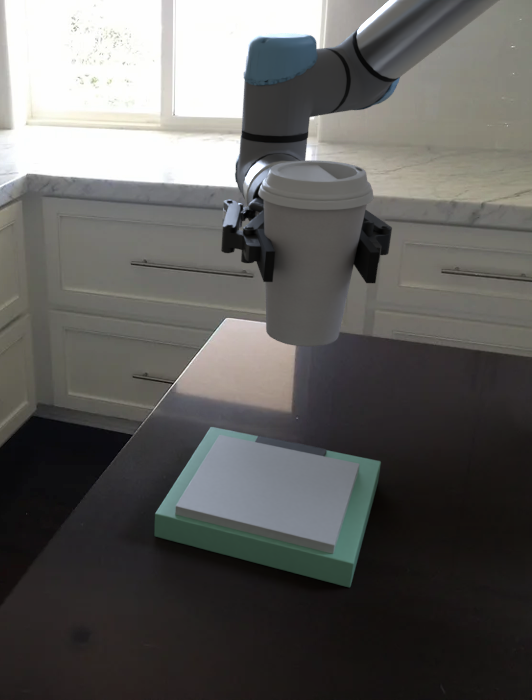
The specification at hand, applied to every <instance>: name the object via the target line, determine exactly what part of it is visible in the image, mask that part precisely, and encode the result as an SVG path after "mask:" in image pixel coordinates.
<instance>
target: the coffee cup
mask: <svg viewBox="0 0 532 700" xmlns="http://www.w3.org/2000/svg"><path fill="white" fill-rule="evenodd" d="M258 195H259V196H260V197H261V198H262V199H264V233H265V236H266V237H267V238H269V239H270V240H271V243H272V245H273V247H274V250H275V260H274V272H273V282H264V283H265V284H264V285H265V330H266V334H267V335H268V336H269V337H270V338H272V339H273V340H275V341H277V342H279V343H283V344H285V345H288V346H289V345H290V346H295V347H305V348H309V347H310V348H311V347H312V348H313V347H314V348H315V347H321V346H327V345H330V344H332V343H334V342H336V341H337V340H338V338H339V336H340V332H341V328H342V327H341V326H342V322H343V317H344V313H345V308H346V304H347V298H348V294H349V289H350V284H351V280H352V275H353V270H354V267H355V266H354V261H355V256H356V251H357V247H358V242H359V237H360V233H361V228H362V223H363V219H364V214H365V210H367V206H368V204H370V203H372V202H373V200H374V190H373V188H372V184H371V183H370V182H369V181H368V176H367V171H366V170H365V169H364V168H362V167H360V166H357V165H353V164H352V163H351V164H350V163H346V162H338V161H333V160H332V161H331V160H305V161H292V162H285V163H280V164H277V165H274V166H273V167H271V168H270V170H269V173H268V176H267V178H265V179H264V180H263V182H262V184H261V186H260V189H259V192H258Z"/></svg>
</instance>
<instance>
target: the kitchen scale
mask: <svg viewBox="0 0 532 700" xmlns="http://www.w3.org/2000/svg"><path fill="white" fill-rule="evenodd" d="M381 466H382V462H381V460H376V459H371V458H367V457H361V456H356V455H351V454H346V453H341V452H337V451H331V450H328V449H327V448H323V447H318V446H317V447H316V446H312V445H308V444H303V443H298V442H292V441H287V440H284V439H283V440H282V439H278V438H273V437H267V436H264V435H253V434H249V433H244V432H239V431H233V430H230V429H224V428H220V427H215V426H210V427H209V429H208V431H207V432H206V433H205V435H204V437H203V438H202V440H201V441H200V443H199V445H198V446H197V448H196V449H195V450H194V452H193V454H192V455H191V457H190V459H188V462H187V463H186V465H185V467H184V468H183V469H182V471H181V472H180V474H179V476H178V477H177V479H176V480H175V482H174V483H173V485H172V486H171V488H170V490H169V491H168V493H167V494H166V496H165V497H164V498H163V501H162V502H161V504H160V505H159V507H158V508H157V510H156V512H155V513H154V533H153V534H154V537H155V538H159V539H163V540H167V541H171V542H174V543H179V544H182V545H185V546H190V547H194V548H198V549H201V550H205V551H209V552H212V553H215V554H216V553H217V554H220V555H224V556H227V557H231V558H236V559H240V560H243V561H247V562H250V563H255V564H258V565H262V566H266V567H269V568H274V569H278V570H281V571H284V572H288V573H292V574H296V575H301V576H304V577H307V578H312V579H315V580H319V581H323V582H327V583H331V584H334V585H338V586H342V587H346V588H351V586H352V584H353V583H352V582H353V579H354V574H355V572H356V567H357V563H358V560H359V557H360V552H361V548H362V544H363V541H364V537H365V533H366V529H367V525H368V523H369V518H370V514H371V512H372V511H371V510H372V507H373V503H374V499H375V495H376V492H377V487H378V484H379V477H380V472H381Z"/></svg>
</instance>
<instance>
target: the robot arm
mask: <svg viewBox="0 0 532 700" xmlns="http://www.w3.org/2000/svg"><path fill="white" fill-rule="evenodd" d="M498 2H500V0H388V1H387V2H386V3H385V4H383V6H381V7H380V8H379V9H378V10H377V11H376V12H375V13H373V14H372V15H371V16H370V17H369V18H368V19H366V20H365V21H364V22H363V23H362V24H361V25H360V26H359V27H358V28H357V29H356V30H354V31H353V32H352V33H351V34H350V35H349V36H347V38H345V39H344V40H343V41H341V42H340V43H339V44H337V45H336V46H331V47H330V46H329V47H323V48H321V47H320V48H317V40H316V38H315V37H314V36H312V34H311V35H310V34H306V33H265V34H258V35H255V36H254V37H253V38H252V39H251V40H250V41H249V43H248V46H247V54H246V60H245V69H244V72H243V79H244V80H243V81H244V84H243V98H242V99H243V100H242V116H241V117H242V120H241V135H240V144H239V153H238V156H237V158H236V161H235V171H234V178H235V183H236V184H237V188H238V190H239V192H240V193H241V194H242V197H243V199H244V202H245V204H246V206H244V203H242V202H237V201H236V200H233V199H226V200H223V206H222V207H223V208H222V223H221V224H222V231H221V232H222V233H221V249H220V252H222V253H224V254H232V253H234V252H235V251H236V250H239V251H241V255H240V256H241V257H240V262H241V263H244V264H253V263H255V262H256V265H257V267H258V270H259V273H260V276H261V278H262V282H263V283H265V282H273V272H274V260H275V250H274V247H273V245H272V243H271V240H270V239H269V238H267V237H266V236H265V233H264V199H262V198H261V197H260V196H259V195H258V192H259V189H260V186H261V184H262V182H263V180H264V179H265V178H267V176H268V173H269V170H270V168H271V167H273V166H274V165H277V164H280V163H285V162H292V161H306V157H307V156H306V155H307V147H308V138H309V129H310V119H311V118H312V117H319V116H324V115H330V114H337V113H343V112H348V111H362V110H366V109H369V108H371V107H374V106H376V105H380V104H381V103H383V102H386V101H387V100H388V99H389V98H390V97H391V96H392V95H393V94H394V92H395V90H396V89H397V86H398V85H399V82H400V79H401V77H403V75H405V74H406V73H407V72H409V71H410V70H411V69H413V68H414V67H415V66H417V65H418V64H419V63H420V62H422V61H424V60H425V59H426V58H427V57H428V56H429V55H430V54H431V55H432V53H433V52H435V51H436V50H437V49H438V48H440V47H441V46H443V45H444V44H445V43H446V42H448V41H449V40H450V39H451V38H453V37H454V36H456V35H457V34H458V33H459V32H461V31H462V30H463V29H464V28H466V27H467V26H468V25H470V24H471V23H472V22H474V21H475V20H476V19H478V17H480V16H481V15H482V14H484V13H485V12H486V11H488V10H489V9H490V8H492V7H493V6H494V5H495V4H497V3H498ZM246 219H247V220H248V223H247V224H246V225H245V226H243V222H246ZM241 228H242V230H241ZM392 232H393V227H392V226H390V224H388V223H386V222H385V221H384V220H382V219H381V218H379V217H377V216H376V215H375V214H373V213H372V212H370V211H369V210H367V209H366V210H365V214H364V219H363V223H362V228H361V233H360V237H359V242H358V247H357V251H356V256H355V261H354V266H353V267H355V268H356V270H357V272H358V273H359V275H360V276H361V278H362V279H363V281H364V282H365V283H366V284H376V282H377V275H378V269H379V264H380V260H381V256H387V255H389V252H390V246H391V239H392Z"/></svg>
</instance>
